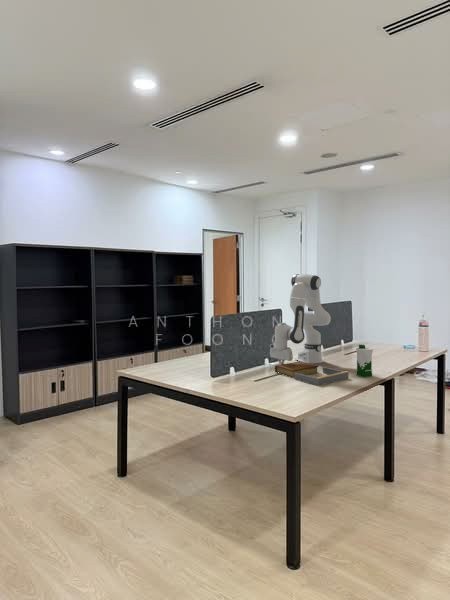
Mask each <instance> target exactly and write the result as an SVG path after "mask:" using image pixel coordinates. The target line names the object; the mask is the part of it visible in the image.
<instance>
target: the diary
mask: <svg viewBox="0 0 450 600" xmlns="http://www.w3.org/2000/svg"><path fill="white" fill-rule="evenodd" d="M319 367H320V365H318V364H315V363H306V362H301V361H300V362H299V361H297V362H296V361H294V362H289V363H288V362H287V363H284V364H281V365H279V364H275V365H274V373H275V372H279V373H281V374H280V375H282V374H284V375H283V376H285V375H287V376H286V377H289V376H290V377H289V378H292V377H294V373H299V374H303V375H307V376H311V375H317V374H319V372H318V368H319Z"/></svg>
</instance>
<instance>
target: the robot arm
mask: <svg viewBox="0 0 450 600" xmlns="http://www.w3.org/2000/svg"><path fill="white" fill-rule="evenodd" d="M290 282H291V283H290V284H291V286H292V288H291V292H290V297H289V307H290V309H291V310H292V312H293V314H294V321H293V326H292V325H291V326H290V325H289V324H287V323H286V322H280V323H277V324H276V325H275V327H274V343H272V344H269V348H270V349H269V356H270V358H274V359H277V361H278V365H281V364H285V361H287V362H290V361H293V359H294V361H296V360H298V361H297V362H299V361H301V362H306V363H310V364H322V363H324V360H323V356H322V355H323V354H322V343H321V342H322V341H321V340H322V337H321V336H322V335H321V332H320V331H318V330H317V329H315V328H314V327H313V326H316V327H317V326H319V327H322V326H328V325H329V324H330V323H331V320H332V319H331V318H332V317H331V315H330V313H329V312H328V311H326V310H325V309H324V308H323V305H322V303H321V296H320V295H321V294H320V288H321V285H322V280H321V278H320V277H319V276H318V275H315V274H307V273H306V274H303V273H302V274H299V273H296V274H293V276H292V277H291V280H290ZM305 307H307V308H309V309H311V310H305ZM304 340H305V343H304V348H302V349H301V350H300V351H299V352H298V353H297V357H296V358H294V357H293V349H292V348H291V347H288V341H291V342H292V343H293V344H297V345H298V344H301V343H302V342H303V341H304Z"/></svg>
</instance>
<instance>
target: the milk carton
mask: <svg viewBox="0 0 450 600" xmlns="http://www.w3.org/2000/svg"><path fill="white" fill-rule="evenodd" d="M373 351H374V349H373V348H370V347H366V345H365V344H358V348H355V352H356V374H355V375H356V376H358V377H362V378H369V377H370V378H371V377H373V370H372V369H373V368H372V367H373V366H372V362H373V360H372V359H373V358H372V356H373Z"/></svg>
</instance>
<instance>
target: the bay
mask: <svg viewBox="0 0 450 600" xmlns="http://www.w3.org/2000/svg"><path fill="white" fill-rule="evenodd" d="M322 373H323V374H325V375H323V376H319V377H315V376H311V375H303V374H299V373H294V378H293V379H294V380H295V379H296V381H299V380H300V382H303V381H304V383H306V384H307V383H308V384H310V385H315V386H322V385H326V384H331V383H335V382H340V381H344V380H347V379H349V378H350V376H349V374H350V373H349V371H348V370H340V369H335V368H330V367H327V366H323V367H322Z"/></svg>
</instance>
